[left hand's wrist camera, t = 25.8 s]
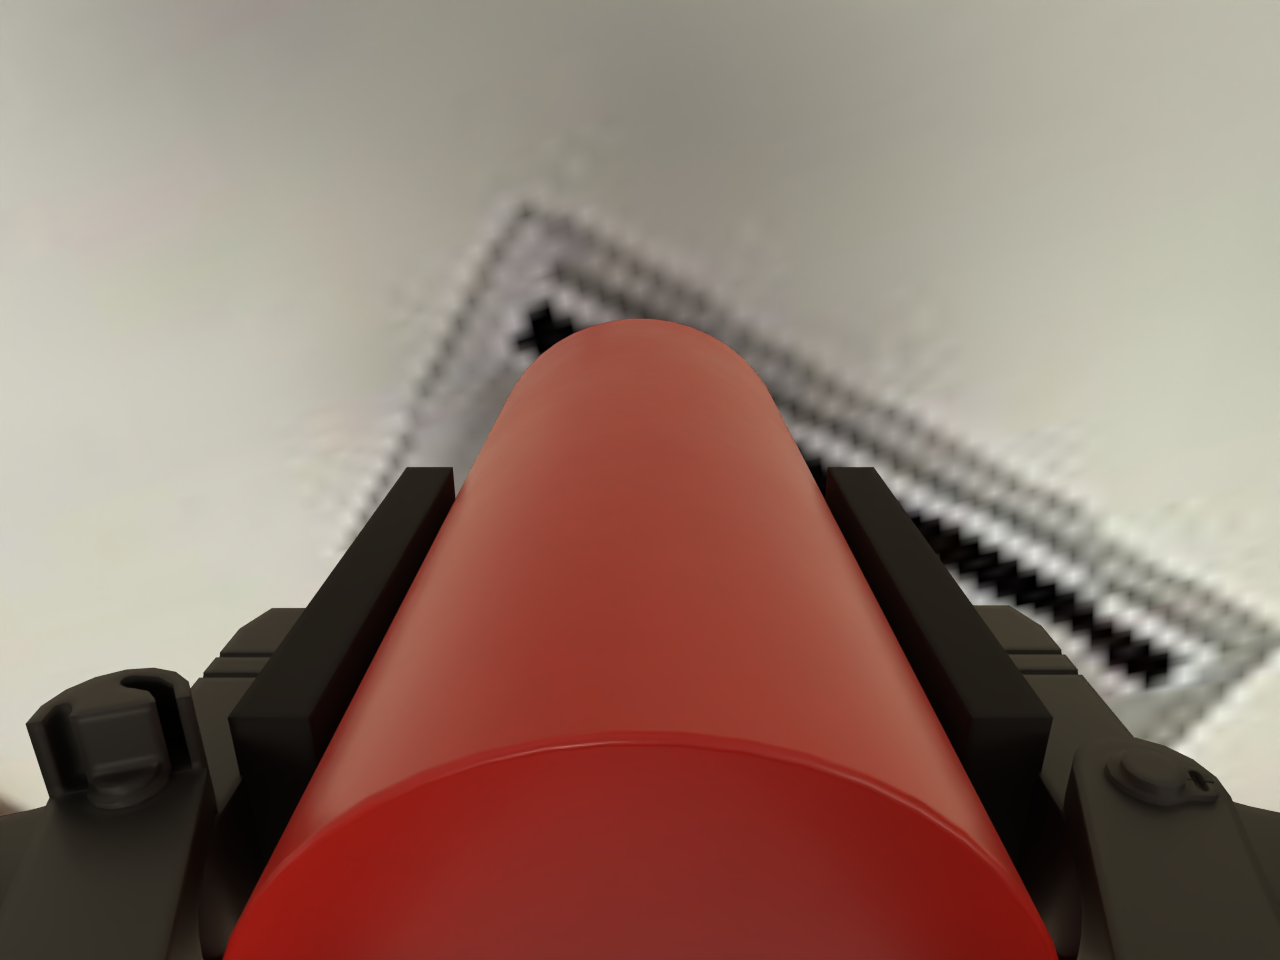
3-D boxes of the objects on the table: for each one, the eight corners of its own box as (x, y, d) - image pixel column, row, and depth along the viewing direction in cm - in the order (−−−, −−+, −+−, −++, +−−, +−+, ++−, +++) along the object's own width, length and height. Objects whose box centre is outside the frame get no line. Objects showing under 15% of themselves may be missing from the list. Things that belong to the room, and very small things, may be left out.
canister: (657, 252, 16) (701, 541, 5) (843, 476, 18) (1230, 1113, 6) (434, 448, 18) (27, 1052, 6) (625, 637, 20) (603, 1399, 8)
